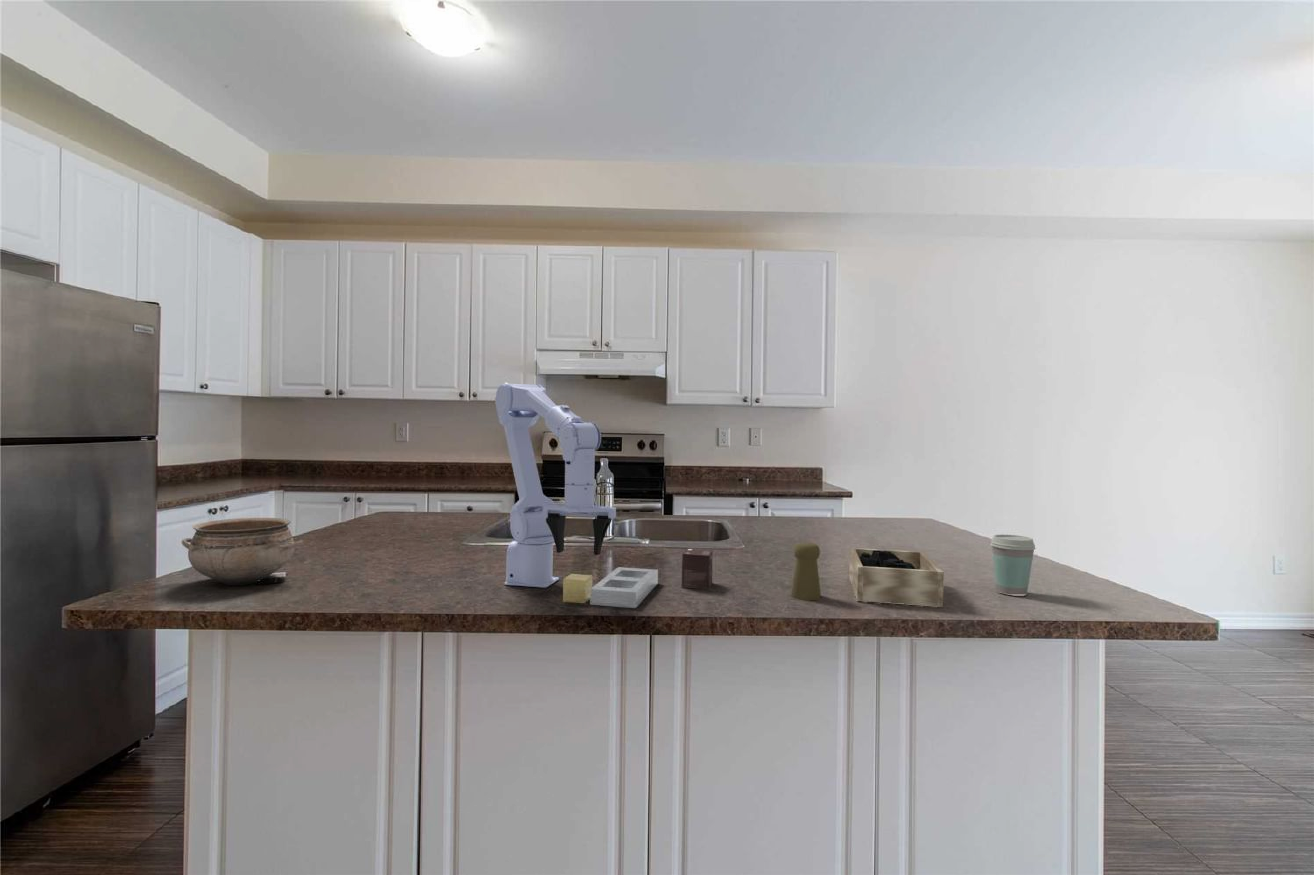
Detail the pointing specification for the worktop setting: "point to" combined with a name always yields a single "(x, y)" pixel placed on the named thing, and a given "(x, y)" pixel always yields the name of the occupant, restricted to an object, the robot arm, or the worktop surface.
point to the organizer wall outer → (930, 565)
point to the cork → (806, 572)
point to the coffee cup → (1012, 562)
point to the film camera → (883, 560)
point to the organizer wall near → (900, 585)
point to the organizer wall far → (902, 555)
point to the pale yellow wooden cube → (577, 588)
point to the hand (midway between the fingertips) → (578, 553)
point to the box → (697, 568)
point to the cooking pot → (240, 548)
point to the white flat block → (624, 587)
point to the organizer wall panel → (856, 574)
